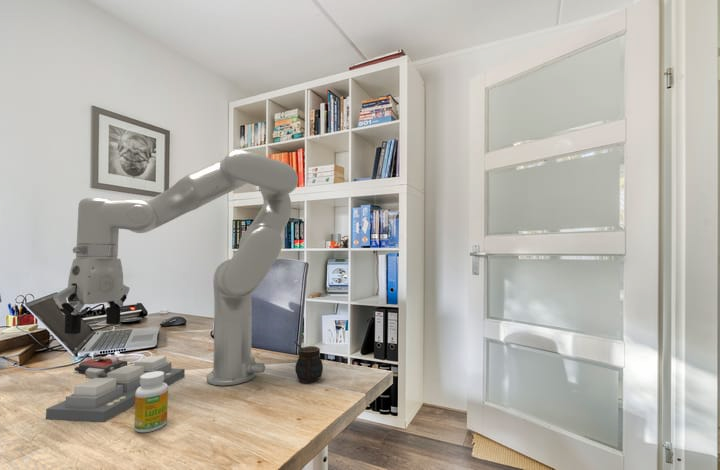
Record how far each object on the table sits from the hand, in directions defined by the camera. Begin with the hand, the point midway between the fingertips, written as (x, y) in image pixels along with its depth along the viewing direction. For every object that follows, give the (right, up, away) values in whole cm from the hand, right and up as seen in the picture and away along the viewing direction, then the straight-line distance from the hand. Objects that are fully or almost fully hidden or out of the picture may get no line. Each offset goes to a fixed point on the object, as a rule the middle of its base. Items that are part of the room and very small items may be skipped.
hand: (94, 328), depth 75 cm
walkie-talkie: (-11, -18, +19) cm, 28 cm away
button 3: (+3, -12, -4) cm, 14 cm away
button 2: (+4, -13, +4) cm, 14 cm away
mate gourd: (+47, -17, +12) cm, 51 cm away
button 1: (+5, -13, +12) cm, 19 cm away
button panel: (+4, -17, +4) cm, 18 cm away
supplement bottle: (+20, -16, -11) cm, 28 cm away
